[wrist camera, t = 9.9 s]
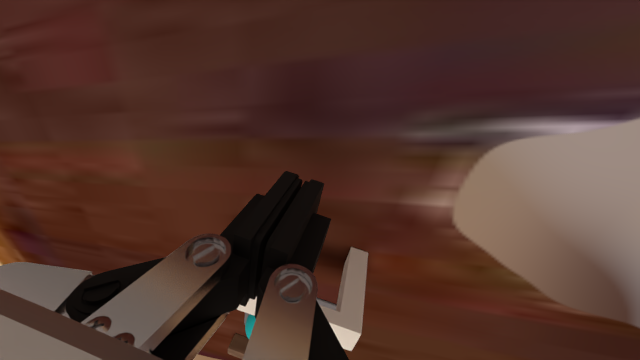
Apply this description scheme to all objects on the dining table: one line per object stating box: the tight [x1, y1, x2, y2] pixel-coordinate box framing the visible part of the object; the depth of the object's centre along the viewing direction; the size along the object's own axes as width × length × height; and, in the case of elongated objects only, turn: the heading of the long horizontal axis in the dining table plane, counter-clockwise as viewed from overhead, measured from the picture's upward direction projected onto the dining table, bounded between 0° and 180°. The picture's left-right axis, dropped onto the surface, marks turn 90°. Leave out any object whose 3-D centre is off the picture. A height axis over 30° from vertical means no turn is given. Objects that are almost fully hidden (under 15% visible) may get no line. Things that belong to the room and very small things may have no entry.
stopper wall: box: [228, 333, 249, 359], centre depth 43 cm, size 2×16×2 cm, turn 77°
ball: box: [245, 314, 256, 339], centre depth 36 cm, size 6×6×6 cm
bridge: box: [237, 247, 368, 351], centre depth 26 cm, size 3×14×9 cm, turn 78°
